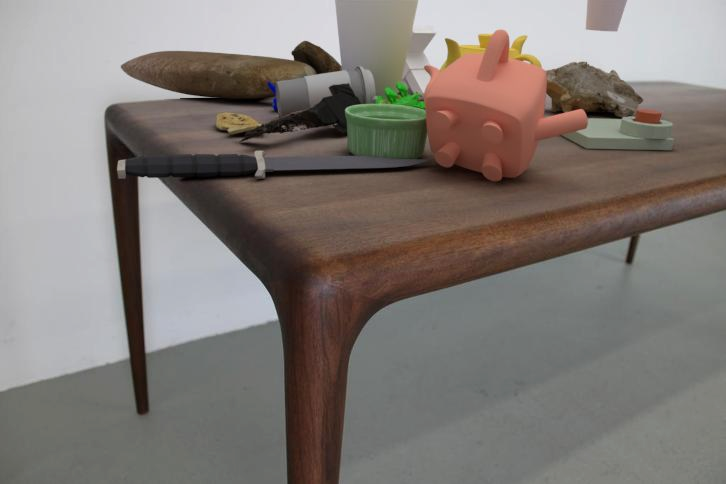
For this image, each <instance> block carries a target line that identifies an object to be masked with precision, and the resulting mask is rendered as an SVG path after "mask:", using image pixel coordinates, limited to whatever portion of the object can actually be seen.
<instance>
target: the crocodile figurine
mask: <svg viewBox="0 0 726 484" xmlns="http://www.w3.org/2000/svg"><path fill="white" fill-rule="evenodd" d="M396 88H397V89H398V90H399V93H396V92H395V91H394V90H393V89H391V88H389V87H386V88H385V94H386V96H387V99H388V101H387V100H386V99H385V98H383V97H381V96H375V97H373V101H374V104H391V105H402V106H409V107H415V108H419V109H423V110H426V109H425V105H424V101H422V100H419V96H420V95H421V94H420V93H418V92H416V93H415V94H410V95H408V93H406V92H407V91H408V89H407V87H406V86H405V85H404V84H403V83H401V82H397V84H396ZM400 93H402V94H400ZM420 97H422V95H421V96H420Z"/></svg>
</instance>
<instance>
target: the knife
mask: <svg viewBox="0 0 726 484" xmlns="http://www.w3.org/2000/svg"><path fill="white" fill-rule="evenodd" d="M266 155H267V153H266V152H265V151H264V150H255V151H254V154H253V155H247V154H237V153H219V154H217V155H216V154H213V153H195V154H194V155H193V154H191V153H185V154H183V153H182V154H171V155H170V156H169V155H167V154H152V155H150V154H148V155H146V156H143V155H140V156H135V157H131V158H126V159H119V160H118V161H117V167H116V172H117V179H118V180H123V179H124V180H125V179H126V177H127V175H128V176H132V177H137V178H148V179H155V178H157V179H158V178H170V177H172V178H194V177H197V178H207V177H208V178H209V177H210V178H211V177H217V176H220V177H234V176H235V177H236V176H238V177H240V176H241V175H244V176H245V175H251V174H253V173H254V177H255V178H256V179H258V180H259V179H261V180H262V179H265V178H266V173H268V172H269V173H270V172H271V173H272V172H274V171H302V170H303V171H305V170H346V169H347V170H348V169H386V168H387V169H388V168H399V167H409V166H414V165H418V164H423V163H427V162H430V161H433V160H434V159H433V158H432V159H431V158H423V159H421V158H416V159H396V158H384V157H373V156H356V155H325V156H324V155H321V156H320V155H318V156H317V155H316V156H314V155H313V156H312V155H311V156H310V155H309V156H266Z"/></svg>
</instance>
